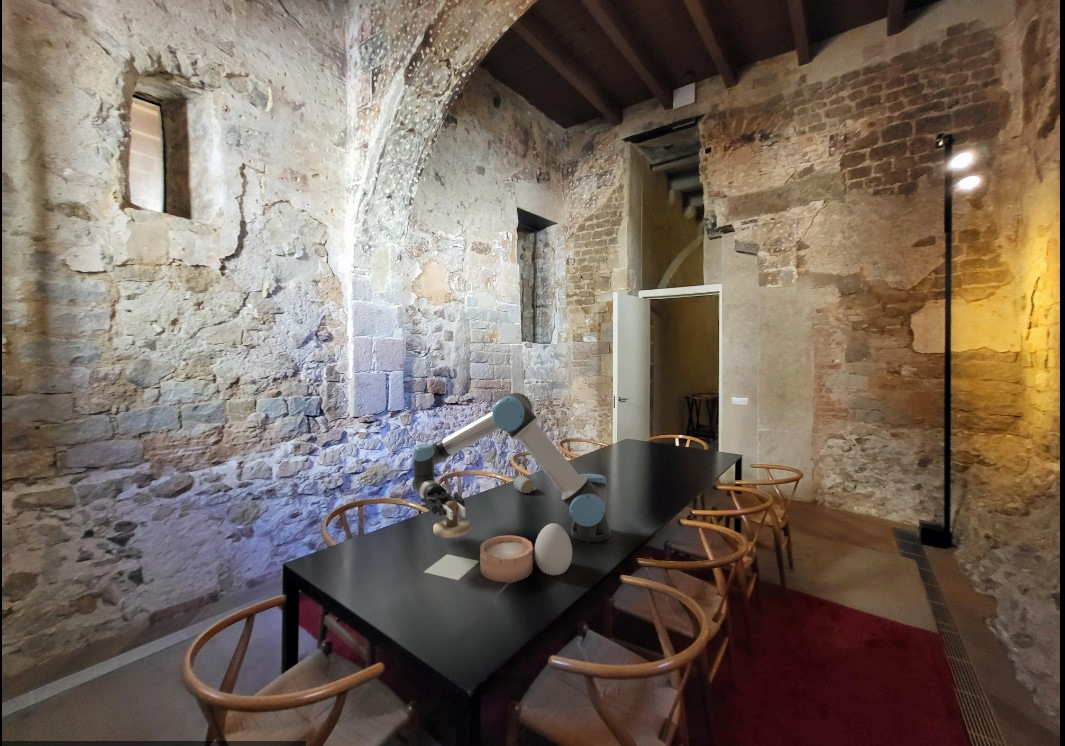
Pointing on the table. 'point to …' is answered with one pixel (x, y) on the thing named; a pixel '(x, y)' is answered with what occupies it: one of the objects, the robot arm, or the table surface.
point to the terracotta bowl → (506, 558)
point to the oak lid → (452, 524)
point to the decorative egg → (553, 550)
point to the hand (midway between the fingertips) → (458, 514)
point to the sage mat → (451, 567)
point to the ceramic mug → (523, 484)
